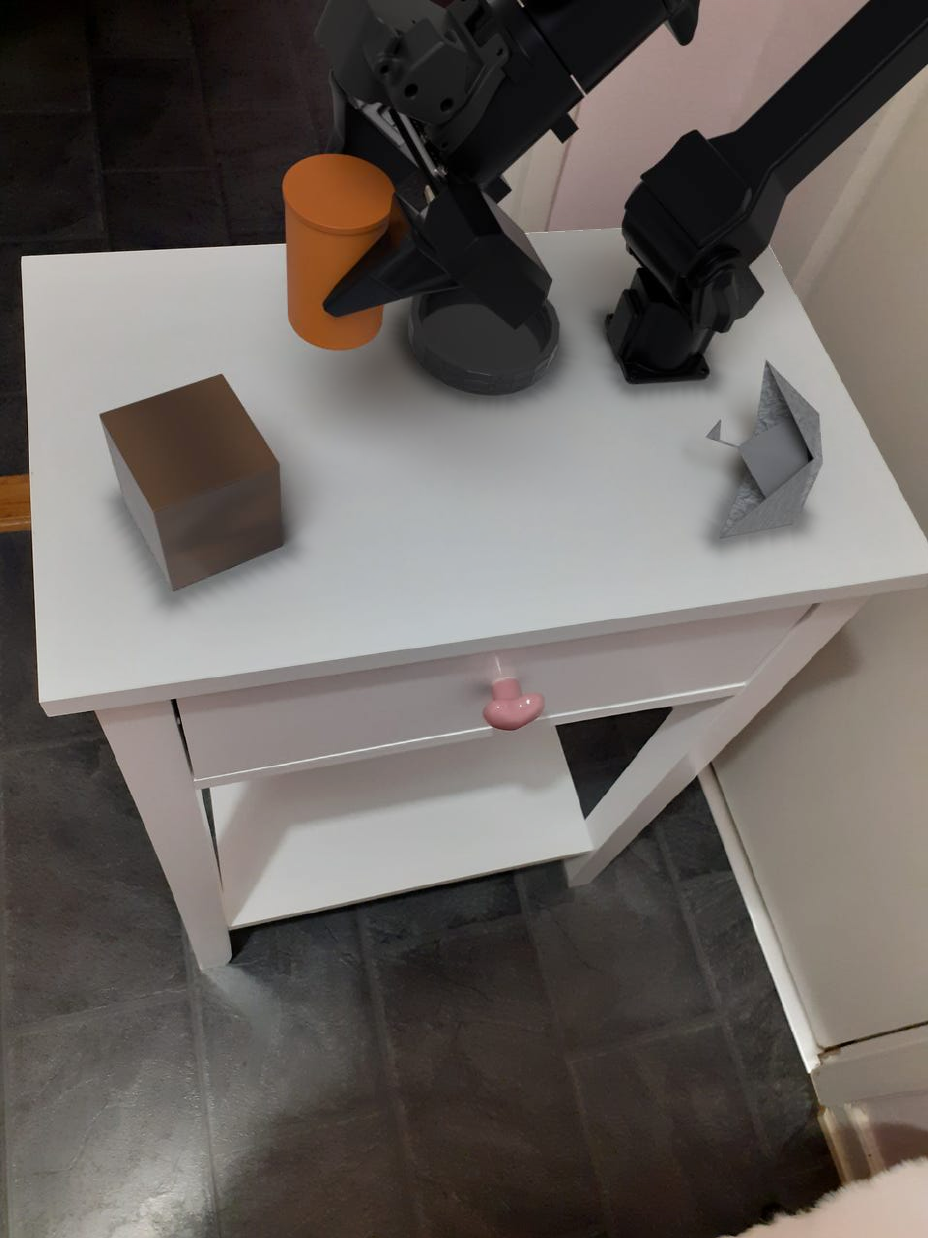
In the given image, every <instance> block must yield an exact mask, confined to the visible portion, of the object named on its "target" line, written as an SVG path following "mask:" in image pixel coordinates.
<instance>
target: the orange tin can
mask: <svg viewBox="0 0 928 1238" xmlns="http://www.w3.org/2000/svg"><path fill="white" fill-rule="evenodd" d="M394 192H396V189H395V187H394V186H393V184H392V182H391V180H390V179H389V178H388V176H387V175H386V174H385V173H384V172H383V171H382V170H380V169H379V168H378V167H376V166H375V165H373V164H371V163H369V162H367V161H365V160H363V159H360V158H357V157H353V156H349V155H343V154H324V153H322V154H316V155H312V156H309V157H306V158H303V159H301V160H300V161H299V160H298V162H296V163H295V164H294V165H292V166H291V167H290V169H288V170H287V172H286V173H285V175H284V177H283V180H282V199H283V201H284V215H285V217H284V218H285V249H286V250H285V254H286V256H285V257H286V258H285V259H286V295H287V297H286V298H287V317H288V318H287V319H288V322H289V325H290V327H291V328H292V329H293V331H294V332H295V334H296V335H298V337H299V338H300V339H302V340H303V341H305V342H307V343H308V344H310V345H312V346H314V347H316V348H319V349H324V350H328V351H337V352H339V351H350V350H355V349H358V348H361V347H364V346H365V345H367V344H369V343H370V342H371V341H373V340H374V338H376V337H377V336H378V334H379V333H380V330H381V328H382V325H383V317H384V316H383V315H384V306H385V304H384V305H380V306H377V307H373V308H370V309H366V310H363V311H359V312H356V313H352V314H349V315H345V316H342V317H338V318H336V317H333V316H331V315H330V314H328V313H327V312H325V311H324V309H323V307H322V303H323V301H324V300H325V299H326V297H327V296H328V295H329V293H330V292H331V291H332V289H333V288H334V287H335V285H336V284H337V283H338V282H339V281H340V280H341V279H342V278H343V276H344V275H345V274H346V273H347V272H348V271H349V270H350V269H351V268H352V267H353V266H354V265H355V264H356V263H357V262H358V260H359V259H360V258H361V257H362V256H363V255H364V254H365V253H366V252H367V251H368V250H369V249H370V248H371V247H372V246H373V245H374V243H375V242H376V241H377V240H378V239H379V238H380V237H381V236H382V235H383V234H384V233H385V231H386V230H387V228H388V222H389V215H390V208H391V200H392V195H393V193H394Z"/></svg>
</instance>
